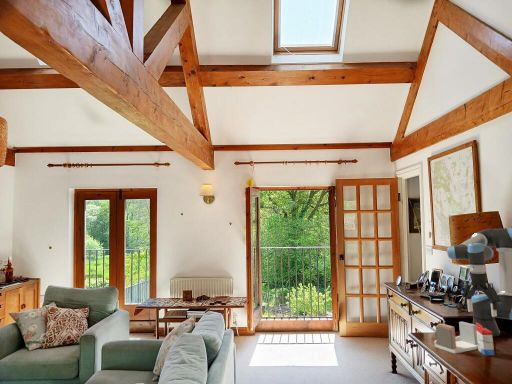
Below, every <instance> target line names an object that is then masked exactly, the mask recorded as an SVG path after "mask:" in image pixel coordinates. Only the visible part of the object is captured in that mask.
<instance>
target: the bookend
mask: <svg viewBox="0 0 512 384" xmlns="http://www.w3.org/2000/svg"><path fill="white" fill-rule="evenodd" d="M458 324H459V326H458V327H459V336H460V339H461V341H464V342H468V343H471V344H474V345H476V344H478V341H477V331H476V325H474V324H472V323H469V322H465V321H459V322H458Z"/></svg>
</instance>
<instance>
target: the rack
mask: <svg viewBox="0 0 512 384" xmlns="http://www.w3.org/2000/svg"><path fill="white" fill-rule="evenodd" d="M455 331H456V330H455V326H452V325H450V324H449V325H448V324H445V323H437V325H435V333H436V335H435V336H436V340H434V347H435V348H438V349H440V350H444V351H446V352H450V353H452V354H459V353H465V352H468V351H470V352H471V351H475V350H478V344H476V345H474V344H471V343H468V342H464V341H461V339H460V335H458V336H456V332H455Z"/></svg>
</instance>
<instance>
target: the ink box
mask: <svg viewBox="0 0 512 384" xmlns="http://www.w3.org/2000/svg"><path fill="white" fill-rule="evenodd" d="M478 326H480V328H479V327H478ZM476 331H477V341H478V349H477V350H478V351H479V353H481V354H483V356H495V349H494V339H493V337H494V336H492V332H491V331H489V330H488V329H486V328H482V326H481V325H480V324H478V323H477V322H476Z"/></svg>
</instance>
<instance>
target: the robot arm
mask: <svg viewBox="0 0 512 384" xmlns="http://www.w3.org/2000/svg"><path fill="white" fill-rule="evenodd" d="M492 248H495V250H496V251H497V252H498V271H499V272H498V275H499V276H498V279H499V282H498V283H499V285H498V286H499V291H498V293H497V291H496V290H495V287H494V284H493V282H490V283H487V281H488V278H487V277H488V275H487V266H486V261H489V260H490V259H492V258H493V257H494V249H492ZM446 253H447V257H448V258H449V259H450V260H468V262H469V263H468V265H469V272H470V273H469V276H470V280H466V281H465V286H464V290H463V293H462V298H464V299H465V300H466V301H465V302H466V303H465V304H466V305H467V311H468V312H469V313H470V312H471V313H472V319H473V320H472V323H471V324H474V325H476V322H477V323H478V324H480V325H481V326H482V328H486V329H488V330H489V331H491V332H492V337H499V336H500V335H501V331H500V329H499V327H498V324H497V321H496V318H497V319H505V320H510V321H511V320H512V227H510V228H509V227H504V228H486V229H482V230H480V231H478V232H475V233H474V234H472V235H471V236H470V238H468V239H466V240H465V241H463V242H462V243H460V244H458V245H452V246H448V248H447V250H446ZM476 291H479V292H482V294H480V293H479V294H474V293H475V292H476ZM478 327H479V328H480V326H478Z"/></svg>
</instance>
